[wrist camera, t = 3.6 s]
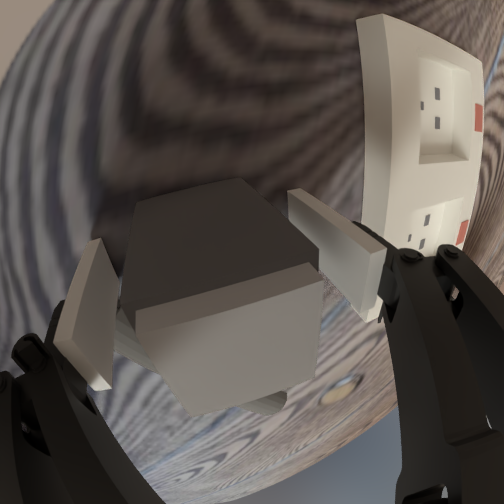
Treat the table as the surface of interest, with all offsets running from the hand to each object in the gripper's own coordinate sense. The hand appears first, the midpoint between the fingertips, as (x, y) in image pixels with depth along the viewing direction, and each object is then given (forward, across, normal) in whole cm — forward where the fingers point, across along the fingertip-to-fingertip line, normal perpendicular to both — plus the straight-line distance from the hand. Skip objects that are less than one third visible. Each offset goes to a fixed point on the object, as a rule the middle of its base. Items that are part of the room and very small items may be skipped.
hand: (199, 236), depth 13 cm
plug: (0, 0, 0) cm, 0 cm away
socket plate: (0, +16, +1) cm, 16 cm away
